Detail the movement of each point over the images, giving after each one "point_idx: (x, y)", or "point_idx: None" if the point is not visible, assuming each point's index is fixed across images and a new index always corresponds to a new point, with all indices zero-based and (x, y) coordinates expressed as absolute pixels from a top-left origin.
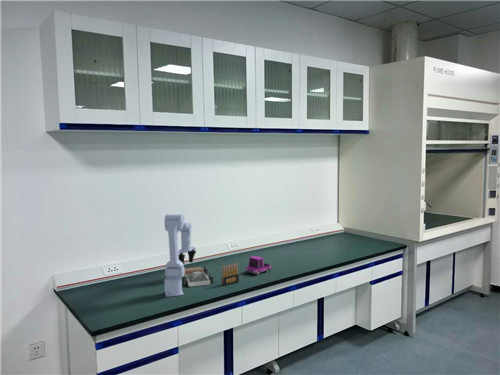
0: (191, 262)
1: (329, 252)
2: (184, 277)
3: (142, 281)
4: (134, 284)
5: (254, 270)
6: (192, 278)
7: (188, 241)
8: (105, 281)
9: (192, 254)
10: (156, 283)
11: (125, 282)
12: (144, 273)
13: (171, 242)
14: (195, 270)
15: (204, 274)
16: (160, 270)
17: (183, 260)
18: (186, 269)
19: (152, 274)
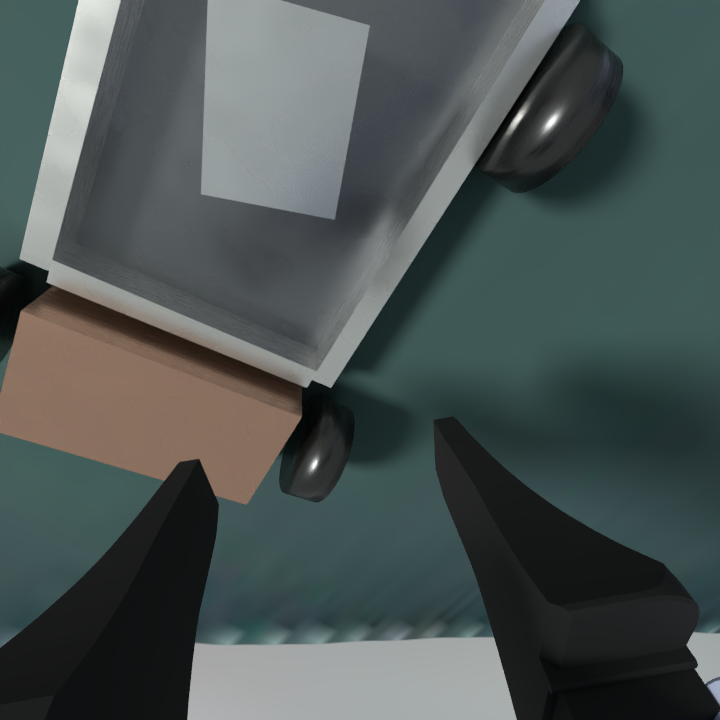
0: (200, 465)
1: None
2: (604, 114)
3: (620, 516)
4: (706, 498)
5: None
6: (275, 262)
7: None
8: (711, 625)
9: (121, 632)
10: (615, 413)
11: (687, 560)
12: (465, 628)
13: None
14: (156, 360)
15: (77, 169)
16: (340, 625)
17: (500, 483)
18: (244, 462)
19: (447, 591)
